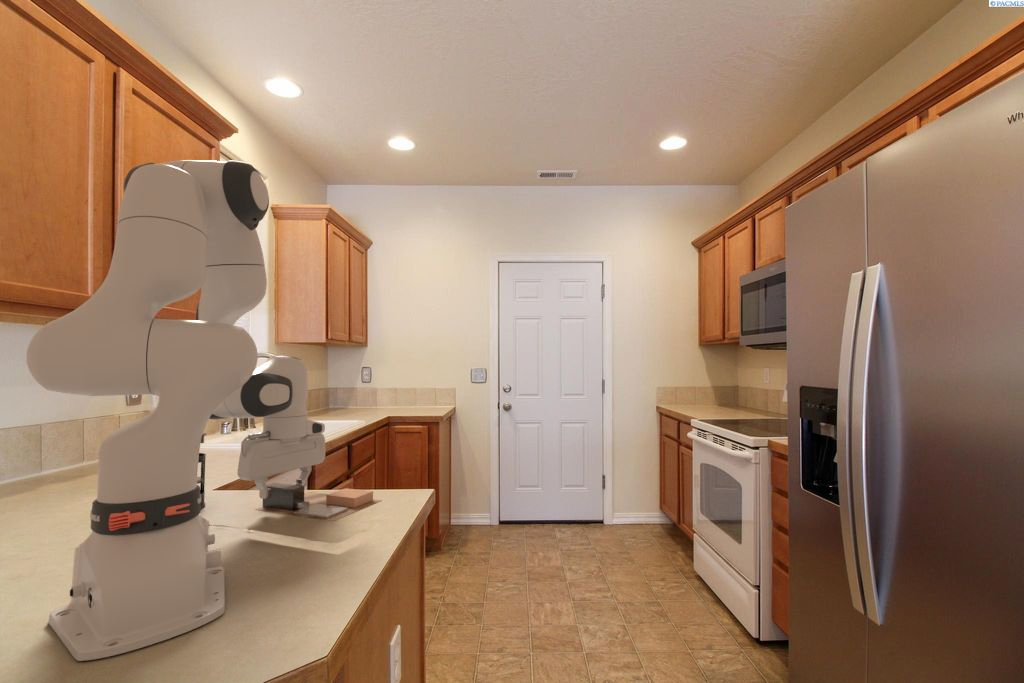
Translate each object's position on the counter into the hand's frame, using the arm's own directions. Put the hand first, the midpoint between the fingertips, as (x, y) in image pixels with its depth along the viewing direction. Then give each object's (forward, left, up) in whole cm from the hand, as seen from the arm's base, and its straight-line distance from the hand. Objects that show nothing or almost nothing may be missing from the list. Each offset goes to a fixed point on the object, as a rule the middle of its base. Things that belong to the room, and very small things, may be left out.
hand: (284, 492), depth 99 cm
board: (-4, -6, -5) cm, 9 cm away
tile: (-4, -10, -2) cm, 11 cm away
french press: (+22, +16, -5) cm, 27 cm away
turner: (-5, -2, -3) cm, 6 cm away
